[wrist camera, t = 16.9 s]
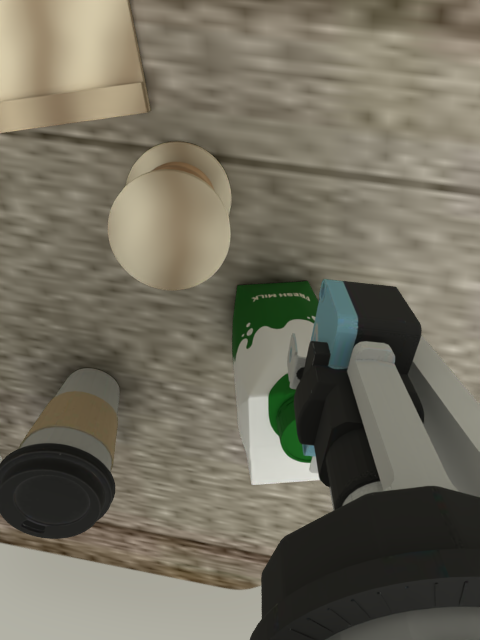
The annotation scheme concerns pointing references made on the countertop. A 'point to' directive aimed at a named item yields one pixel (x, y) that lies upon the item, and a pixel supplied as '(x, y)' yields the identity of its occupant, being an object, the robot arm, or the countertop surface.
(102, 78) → the terminal board
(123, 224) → the bobbin
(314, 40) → the countertop surface
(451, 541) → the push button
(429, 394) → the robot arm
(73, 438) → the coffee cup
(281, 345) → the milk carton
